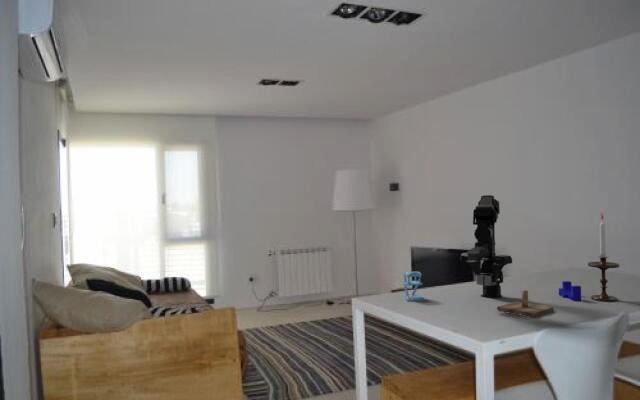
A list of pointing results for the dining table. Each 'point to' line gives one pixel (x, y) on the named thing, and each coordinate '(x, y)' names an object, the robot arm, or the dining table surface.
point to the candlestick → (603, 267)
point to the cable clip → (570, 291)
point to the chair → (410, 283)
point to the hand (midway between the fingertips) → (486, 281)
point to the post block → (525, 307)
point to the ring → (485, 279)
